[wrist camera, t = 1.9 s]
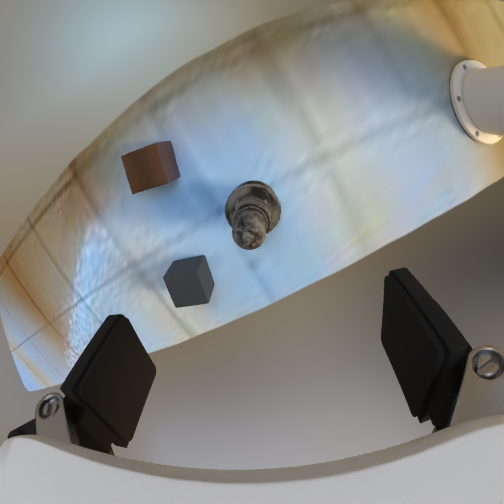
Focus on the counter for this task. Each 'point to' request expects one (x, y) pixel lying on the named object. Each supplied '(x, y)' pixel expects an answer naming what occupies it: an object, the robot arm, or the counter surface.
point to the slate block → (189, 281)
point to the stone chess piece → (252, 213)
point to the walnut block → (150, 166)
